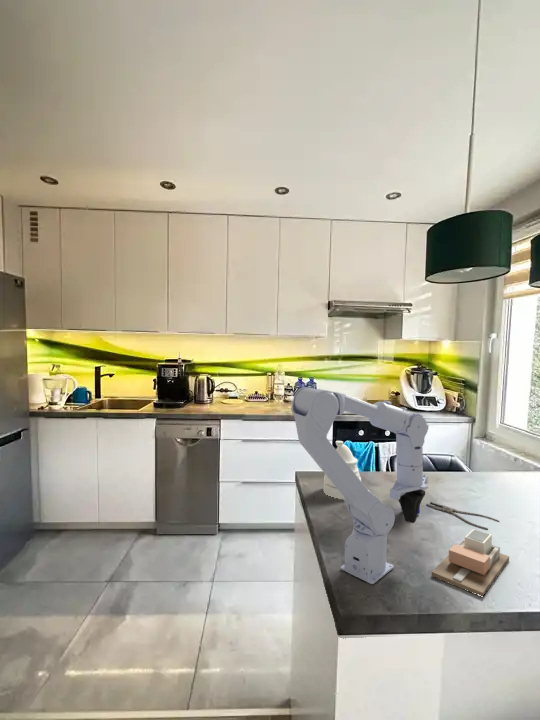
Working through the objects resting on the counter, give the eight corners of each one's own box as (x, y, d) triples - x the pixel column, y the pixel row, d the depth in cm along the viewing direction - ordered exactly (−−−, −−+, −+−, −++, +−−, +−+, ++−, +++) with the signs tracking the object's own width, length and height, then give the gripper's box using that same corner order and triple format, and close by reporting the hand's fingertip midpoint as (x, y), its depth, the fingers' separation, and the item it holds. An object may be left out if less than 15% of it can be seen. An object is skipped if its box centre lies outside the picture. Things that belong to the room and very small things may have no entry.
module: (483, 565, 84) (484, 542, 84) (464, 558, 87) (464, 536, 87) (491, 555, 89) (491, 534, 89) (472, 549, 91) (473, 528, 91)
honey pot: (344, 502, 122) (345, 447, 122) (315, 491, 132) (316, 439, 132) (368, 494, 130) (370, 442, 130) (339, 483, 140) (340, 435, 140)
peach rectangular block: (484, 575, 80) (484, 562, 80) (448, 561, 85) (448, 549, 85) (489, 567, 82) (490, 555, 82) (454, 555, 87) (455, 543, 87)
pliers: (494, 530, 103) (419, 510, 116) (494, 533, 103) (419, 512, 116) (500, 519, 111) (429, 501, 123) (500, 522, 111) (429, 503, 123)
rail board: (482, 597, 74) (483, 582, 74) (431, 576, 82) (431, 562, 82) (509, 560, 89) (509, 547, 89) (463, 544, 96) (463, 533, 96)
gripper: (410, 474, 80) (411, 537, 80) (440, 460, 90) (440, 516, 90) (381, 467, 85) (381, 527, 86) (411, 454, 95) (412, 507, 95)
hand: (410, 521), depth 88 cm, fingers closed
